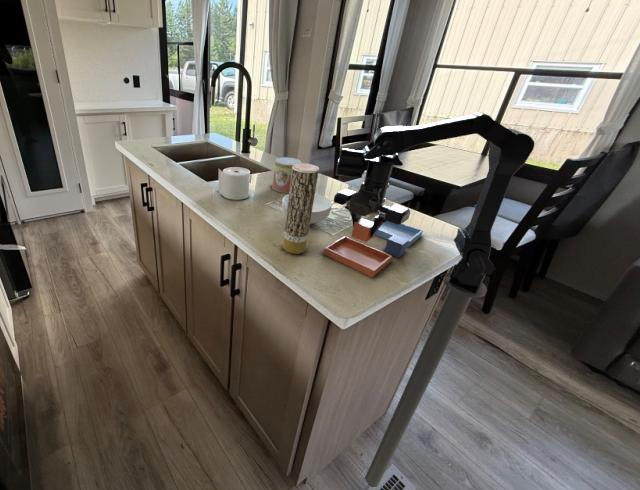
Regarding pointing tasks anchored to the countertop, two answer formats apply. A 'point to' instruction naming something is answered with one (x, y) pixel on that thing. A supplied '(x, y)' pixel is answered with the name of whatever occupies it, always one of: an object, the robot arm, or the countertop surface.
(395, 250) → the blue block
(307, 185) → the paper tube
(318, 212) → the cereal bowl
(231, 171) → the toilet tissue
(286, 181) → the canned food
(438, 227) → the countertop surface
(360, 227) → the clay block
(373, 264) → the clay tray
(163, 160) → the countertop surface
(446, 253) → the countertop surface
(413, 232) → the blue tray
